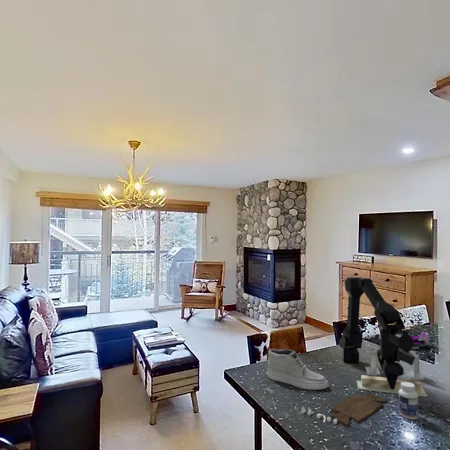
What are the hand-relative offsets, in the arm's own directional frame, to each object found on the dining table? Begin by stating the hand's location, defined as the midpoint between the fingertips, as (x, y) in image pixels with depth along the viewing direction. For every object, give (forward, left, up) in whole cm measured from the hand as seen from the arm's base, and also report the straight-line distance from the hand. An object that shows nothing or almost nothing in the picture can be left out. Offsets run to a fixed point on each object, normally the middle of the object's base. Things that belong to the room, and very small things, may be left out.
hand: (390, 384), depth 123 cm
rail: (0, 0, -1) cm, 1 cm away
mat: (0, 0, -2) cm, 2 cm away
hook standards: (+4, +15, -2) cm, 16 cm away
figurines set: (-26, -28, -2) cm, 38 cm away
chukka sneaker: (-35, -3, -2) cm, 35 cm away
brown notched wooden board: (-13, -19, -2) cm, 23 cm away
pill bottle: (+2, -19, -2) cm, 19 cm away
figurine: (+16, +55, -2) cm, 58 cm away
